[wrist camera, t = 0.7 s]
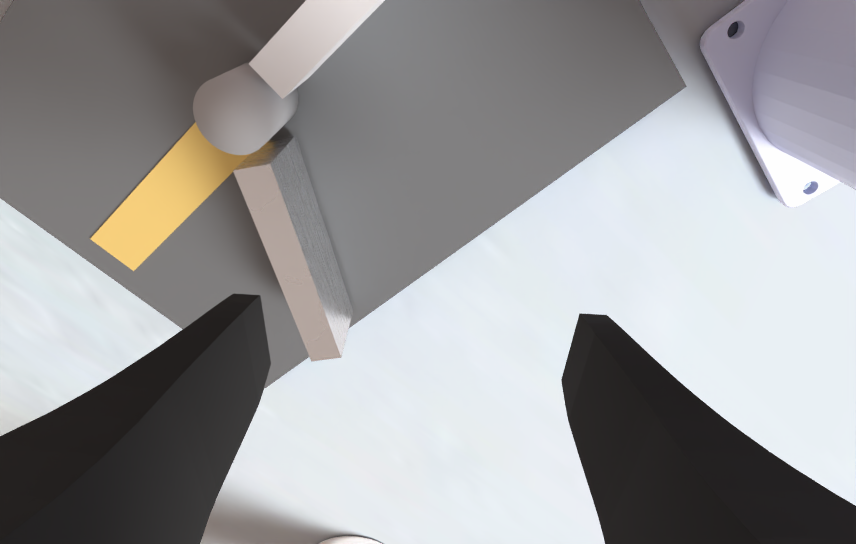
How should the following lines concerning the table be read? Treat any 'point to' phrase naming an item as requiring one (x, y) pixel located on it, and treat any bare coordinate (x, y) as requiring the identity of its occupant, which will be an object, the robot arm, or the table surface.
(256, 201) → the hinge leaf
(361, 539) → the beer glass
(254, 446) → the table surface
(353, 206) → the mat
